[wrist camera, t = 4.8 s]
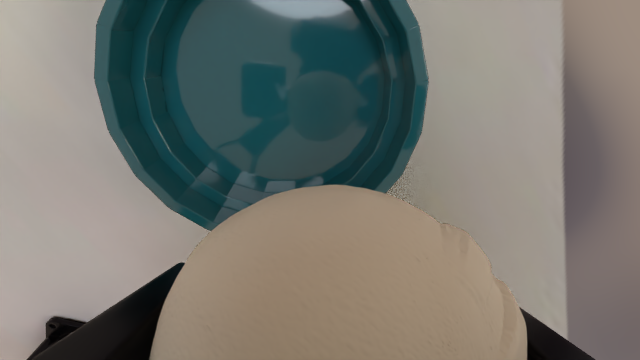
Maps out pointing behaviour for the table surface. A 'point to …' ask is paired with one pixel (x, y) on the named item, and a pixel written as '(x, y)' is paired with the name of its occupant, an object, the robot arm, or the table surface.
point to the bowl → (259, 96)
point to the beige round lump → (338, 286)
